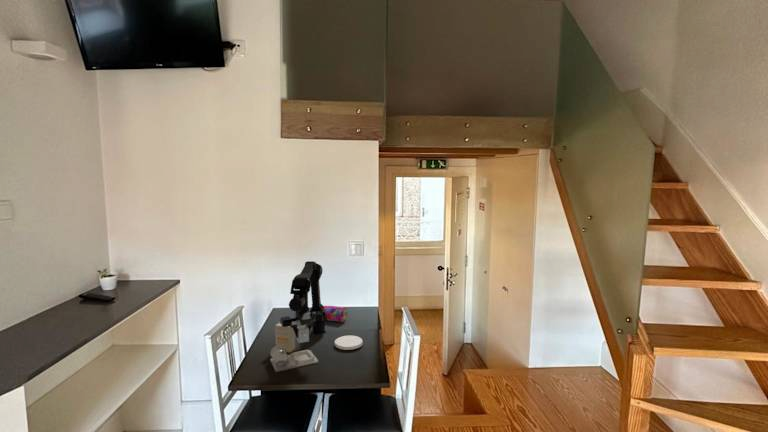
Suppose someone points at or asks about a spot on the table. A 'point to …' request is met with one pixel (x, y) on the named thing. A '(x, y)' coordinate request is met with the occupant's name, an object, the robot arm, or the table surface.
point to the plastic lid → (348, 342)
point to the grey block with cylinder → (302, 333)
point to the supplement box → (285, 337)
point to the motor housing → (290, 359)
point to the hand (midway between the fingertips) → (302, 336)
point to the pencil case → (335, 313)
